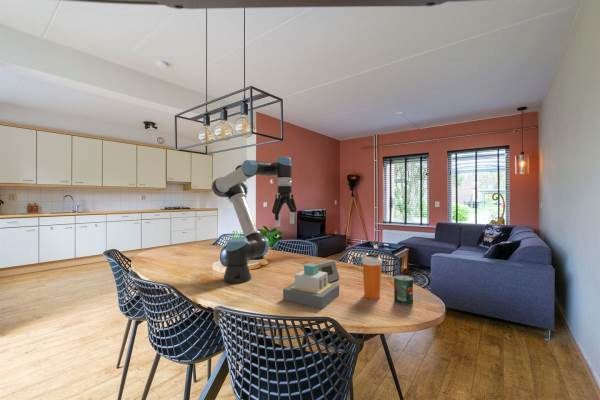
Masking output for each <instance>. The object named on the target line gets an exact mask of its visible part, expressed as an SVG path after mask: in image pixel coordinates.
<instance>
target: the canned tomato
mask: <svg viewBox="0 0 600 400" xmlns="http://www.w3.org/2000/svg"><path fill="white" fill-rule="evenodd" d="M393 284H394V285H393V287H394V288H393V293H394V294H393V295H394V296H393V298H394V299H393V302H394V303H395V304H397V305H399V306H403V307H404V306H406V307H407V306H412V305H413V304H414V278H413V276H410V275H405V274H397V275H394V276H393Z"/></svg>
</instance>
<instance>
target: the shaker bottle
mask: <svg viewBox="0 0 600 400" xmlns="http://www.w3.org/2000/svg"><path fill="white" fill-rule="evenodd" d="M362 255H363V257H362V259H361V263H362V273H363V296H364V297H365V298H366V299H370V300H377V299H379V298H380V296H381V279H382V278H381V277H382V264H383V261H382V259H381V257H380V254H379V253H371V252H366V253H364V254H362Z"/></svg>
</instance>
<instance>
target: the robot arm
mask: <svg viewBox="0 0 600 400" xmlns="http://www.w3.org/2000/svg"><path fill="white" fill-rule="evenodd" d="M254 176H265V177H274V176H277V185H278V186H277V193H278V194H275V198H274V202H273V205H272V210H271V213H272V214H273V215H274V227H278V228H279V227H281V213H280V212H281V210H282V208H283V205H284V204H286V205H287V208H288V210H289V225H295V213H296V212H297V205H296V201H295V199H294V198H295V197H294V194H292V192H293V187H292V185H293V184H292V159H291V157H289V156H278V157H277V159H276V161H261V160H254V159H245V160H244V161H243V163H242V164H241V167H238V168H237V169H235V170H233V171H232V172H229V173H228V174H226V175H225V176H220V177H217V178H216V179H214V180H213V181H212V184H211V191H212V193H213V194H214V195H215V196H217V197H220V198H228V202H229V203H232V205H233V208H234V211H235V214H236V217H237V219H238V221H239V225H240V227H241V231H242V233H243V236H239V237H233V238H230V239H229V240H228V241H227V242H226V247H225V250H226V269H225V273H224V275H223V282H225V283H227V284H241V283H247V282H249V281H250V280H251V279H252V275H251V274H252V273H251V272H250V268H249V265H248V260H250V259H254V258H258V257H263V256H265V255H267V253H268V251H269V249H270V242H269V241H270V240H269V239H268V237H266V236H264V235H263V234H262V232H261V231H260V230H258V228H257V225H256V222H255V220H254V218H253V216H252V213H251V210H250V207H249V205H248V202H247V199H246V198H247V195H248V192H249V191H248V189H249V188H248V185H247V182H245V181H246V180H248V179H250V178H252V177H254Z"/></svg>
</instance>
